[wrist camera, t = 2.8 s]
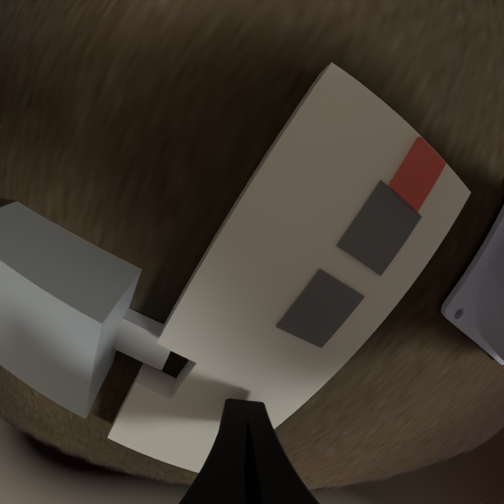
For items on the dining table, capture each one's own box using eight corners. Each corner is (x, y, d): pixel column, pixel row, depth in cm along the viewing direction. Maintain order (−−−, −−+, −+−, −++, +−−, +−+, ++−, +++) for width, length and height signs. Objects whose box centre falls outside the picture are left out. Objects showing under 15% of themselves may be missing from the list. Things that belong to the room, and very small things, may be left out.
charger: (196, 291, 10) (176, 358, 7) (155, 379, 11) (136, 442, 8) (20, 200, 8) (-42, 225, 5) (11, 298, 10) (-32, 337, 7)
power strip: (450, 186, 8) (474, 193, 7) (211, 459, 14) (209, 478, 12) (320, 72, 7) (333, 60, 6) (113, 421, 12) (106, 440, 11)
